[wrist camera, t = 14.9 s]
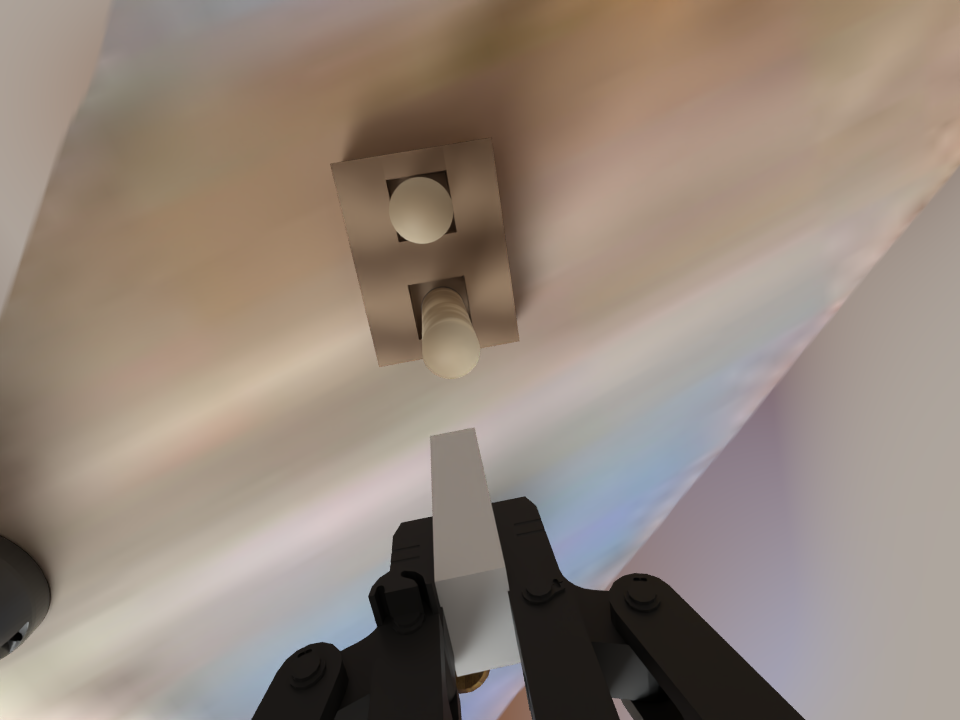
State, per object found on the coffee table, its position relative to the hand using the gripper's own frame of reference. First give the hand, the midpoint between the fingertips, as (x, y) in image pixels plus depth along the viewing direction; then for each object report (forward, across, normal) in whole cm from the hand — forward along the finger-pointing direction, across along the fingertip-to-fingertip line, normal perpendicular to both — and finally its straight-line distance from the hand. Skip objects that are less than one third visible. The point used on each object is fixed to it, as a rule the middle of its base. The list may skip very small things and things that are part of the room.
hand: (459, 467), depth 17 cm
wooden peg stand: (+29, 0, -4) cm, 30 cm away
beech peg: (+27, 0, 0) cm, 27 cm away
